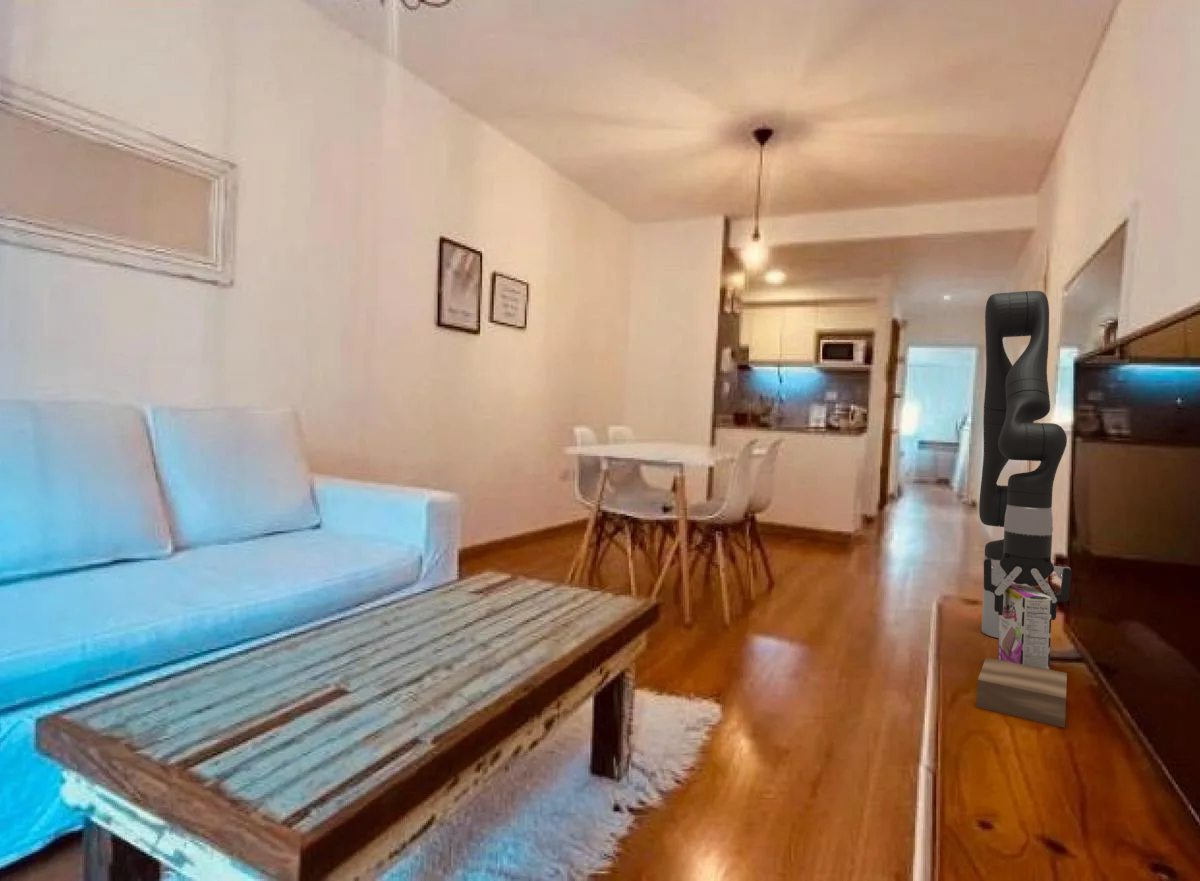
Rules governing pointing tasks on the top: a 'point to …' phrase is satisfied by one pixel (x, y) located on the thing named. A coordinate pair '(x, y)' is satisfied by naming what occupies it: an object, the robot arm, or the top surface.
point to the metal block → (1023, 691)
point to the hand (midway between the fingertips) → (1024, 617)
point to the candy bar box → (1025, 626)
